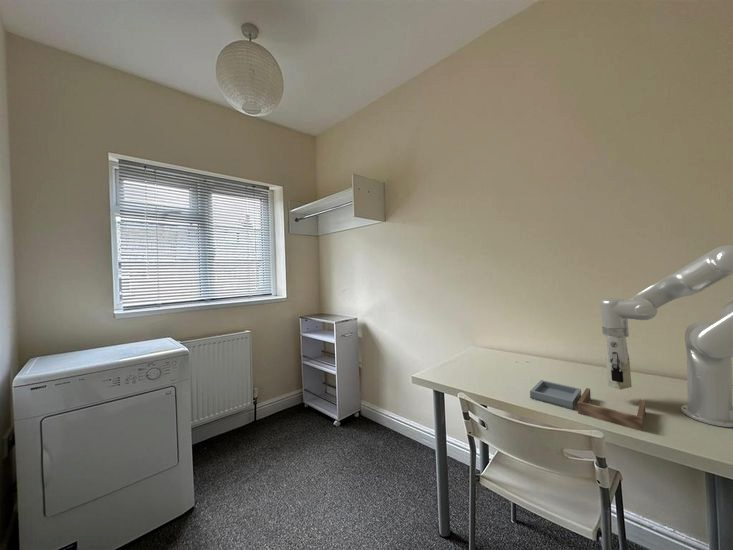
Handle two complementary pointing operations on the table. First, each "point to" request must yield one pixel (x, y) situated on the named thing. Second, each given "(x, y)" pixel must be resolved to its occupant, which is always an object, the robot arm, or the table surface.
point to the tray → (556, 394)
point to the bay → (611, 413)
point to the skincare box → (626, 375)
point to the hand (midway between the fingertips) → (619, 377)
